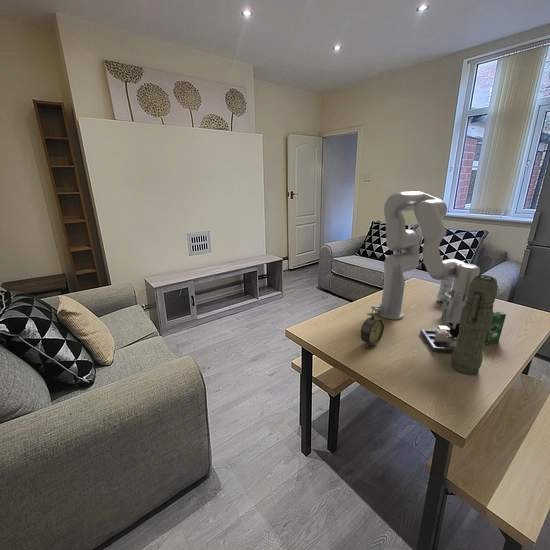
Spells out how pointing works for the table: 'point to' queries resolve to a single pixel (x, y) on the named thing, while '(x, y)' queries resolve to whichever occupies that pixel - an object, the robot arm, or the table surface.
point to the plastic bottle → (445, 288)
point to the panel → (439, 345)
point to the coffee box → (495, 328)
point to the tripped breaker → (441, 335)
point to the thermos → (474, 325)
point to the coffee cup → (445, 300)
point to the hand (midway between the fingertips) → (453, 336)
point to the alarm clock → (372, 330)
